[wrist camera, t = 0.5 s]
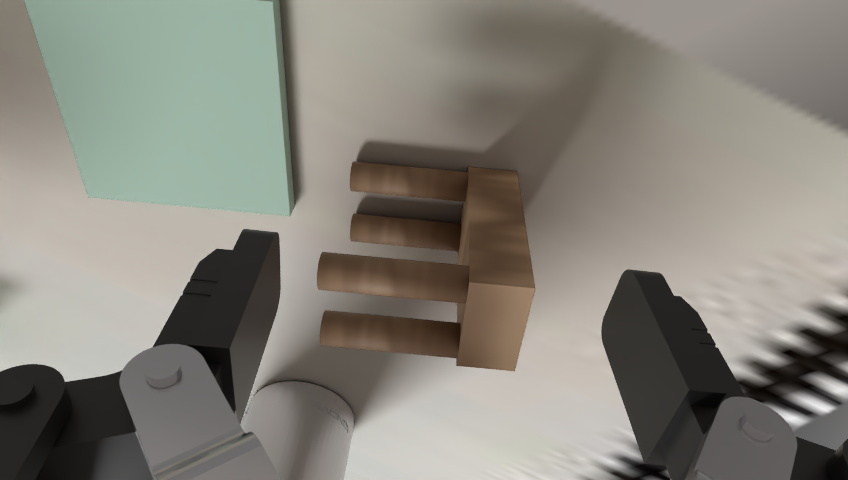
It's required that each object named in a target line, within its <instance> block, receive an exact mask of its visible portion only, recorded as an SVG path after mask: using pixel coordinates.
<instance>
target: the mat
mask: <svg viewBox="0 0 848 480" xmlns="http://www.w3.org/2000/svg"><path fill="white" fill-rule="evenodd" d="M24 1H25V5H26V8H27V11H28V14H29V17H30V20H31V23H32V26H33V29H34V32H35V35H36V38H37V41H38V45H39V48H40V51H41V54H42V57H43V60H44V63H45V66H46V69H47V72H48V75H49V78H50V81H51V85H52V88H53V91H54V94H55V97H56V100H57V103H58V106H59V109H60V112H61V115H62V118H63V121H64V124H65V128H66V131H67V134H68V137H69V140H70V143H71V146H72V149H73V152H74V155H75V158H76V161H77V164H78V168H79V171H80V174H81V177H82V180H83V183H84V186H85V189H86V192H87V195H88V197H89V198H100V199H110V200H121V201H132V202H142V203H153V204H164V205H174V206H185V207H196V208H207V209H217V210H228V211H239V212H249V213H260V214H271V215H281V216H290V215H291V213H292V211H293V209H294V207H295V205H294V191H293V178H292V164H291V151H290V137H289V124H288V110H287V97H286V83H285V70H284V56H283V43H282V29H281V16H280V2H279V0H24Z"/></svg>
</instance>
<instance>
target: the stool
mask: <svg viewBox="0 0 848 480" xmlns="http://www.w3.org/2000/svg"><path fill="white" fill-rule="evenodd" d="M350 190H351V191H357V192H367V193H378V194H389V195H399V196H410V197H421V198H432V199H442V200H453V201H464V203H463V211H462V218H461V224H460V223H449V222H438V221H428V220H417V219H406V218H396V217H385V216H374V215H364V214H353V216H352V221H351V229H350V239H351V241H355V242H366V243H376V244H387V245H398V246H408V247H419V248H430V249H440V250H451V251H458V265H455V264H444V263H434V262H423V261H413V260H402V259H391V258H381V257H370V256H359V255H349V254H338V253H327V252H322V254H321V256H320V259H319V264H318V272H317V286H318V289H319V290H328V291H339V292H349V293H360V294H370V295H381V296H392V297H402V298H413V299H423V300H434V301H445V302H455V303H457V323H454V322H444V321H433V320H423V319H412V318H402V317H391V316H380V315H370V314H359V313H349V312H338V311H327V310H325V312H324V314H323V318H322V322H321V330H320V344H321V345H323V346H333V347H344V348H354V349H365V350H375V351H386V352H396V353H407V354H417V355H428V356H438V357H449V358H457V361H456V366H465V367H476V368H486V369H497V370H508V371H515V368H516V364H517V360H518V356H519V352H520V348H521V344H522V340H523V336H524V332H525V328H526V324H527V320H528V316H529V312H530V308H531V304H532V300H533V296H534V292H535V284H534V277H533V271H532V264H531V258H530V251H529V245H528V238H527V232H526V225H525V219H524V212H523V206H522V200H521V193H520V187H519V180H518V174H517V171H508V170H497V169H487V168H476V167H468V172H462V171H451V170H440V169H429V168H419V167H408V166H397V165H386V164H376V163H365V162H354V161H353V163H352V167H351V174H350Z"/></svg>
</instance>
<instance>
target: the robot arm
mask: <svg viewBox="0 0 848 480" xmlns="http://www.w3.org/2000/svg"><path fill="white" fill-rule="evenodd" d="M279 298H280V245H279V234H278V233H277V232H268V231H259V230H249V229H244V230H243V231H242V232H241V234H240V236H239V238H238V240H237V242H236V245H235V247H234V249H233V250H225V249H216V250H214V251H213V252H212V253H211V254H209V255H208V256H207V257H205V258H204V259H203V260H201V261H200V262H199V264H198V265H197V267H196V269H195V271H194V273H193V275H192V276H191V278H190V282H188V284H187V286H186V287H185V289H184V291H183V295H182V296H180V298H179V300H178V302H177V304H176V306H175V307H174V309H173V311H172V313H171V315H170V317H169V318H168V320H167V322H166V324H165V326H164V328H163V329H162V331H161V333H160V335H159V337H158V339H157V340H156V342H155V344H154V346H153V347H152V348H150V349H147V350H145V351H143V352H141V353H139V354H138V355H136V356H135V357H134V358H132V359H131V360H130V361H129V362H128V363H127V365H126V366H125V367H124V369H123V370H122V371H120V372H117V373H114V374H110V375H106V376H101V377H95V378H88V379H82V380H76V381H70V382H65V381H64V378H63V376H62V375H61V374H60V372H58V371H57V370H56V369H54V368H52V367H49V366H45V365H38V364H28V365H21V366H16V367H12V368H9V369H6V370H3V371H1V372H0V480H343V479H344V474H345V469H346V464H347V459H348V454H349V448H350V443H351V438H352V432H353V427H354V416H353V413H352V410H351V409H350V407H349V406H348V404H347V403H346V402H345V401H344V400H343V399H342V398H341V397H339V396H338V395H336V394H335V393H333V392H332V391H330V390H328V389H325V388H323V387H321V386H318V385H314V384H310V383H305V382H298V381H286V382H279V383H274V384H271V385H268V386H266V387H264V388H263V389H261V390H259V391H258V392H257V393H256V394H255V395H254V397H253V399H252V401H251V404H250V406H249V409H248V412H247V414H246V415H245V416H244V417H243V415H244V411H245V408H246V405H247V402H248V399H249V396H250V393H251V390H252V387H253V384H254V381H255V377H256V374H257V371H258V368H259V365H260V362H261V359H262V356H263V353H264V350H265V347H266V344H267V340H268V337H269V334H270V331H271V328H272V325H273V322H274V319H275V316H276V313H277V309H278V304H279ZM602 342H603V345H604V348H605V351H606V354H607V357H608V360H609V362H610V365H611V368H612V371H613V374H614V377H615V380H616V383H617V385H618V388H619V391H620V394H621V397H622V400H623V403H624V406H625V409H626V411H627V414H628V417H629V420H630V423H631V426H632V429H633V432H634V435H635V437H636V440H637V443H638V446H639V449H640V452H641V455H642V458H643V460H644V463H645V464H655V465H666V467H667V470H668V472H669V475H670V477H671V479H670V480H848V439H847V440H846V441H845V442H844V443H843V444H842V445H841V446H840V447H839V448H838V450H837V451H835V450H833V449H830V448H827V447H824V446H821V445H818V444H815V443H813V442H809V441H807V440H804V439H801V438H798V437H796V436H795V434H794V432H793V430H792V428H791V427H790V426H789V424H788V423H787V422H786V421H785V420H784V419H783V418H782V417H781V416H780V415H779V414H778V413H777V412H775V411H774V410H772V409H771V408H769V407H768V406H766V405H764V404H762V403H760V402H758V401H756V400H753V399H749V398H746V396H745V395H744V393H743V391H742V389H741V388H740V386H739V384H738V382H737V381H736V379H735V377H734V375H733V374H732V372H731V370H730V368H729V367H728V365H727V363H726V361H725V360H724V358H723V356H722V354H721V353H720V351H719V349H718V348H716V347H715V342H714V340H713V339H712V337H711V335H710V333H707V328H706V326H705V325H704V323H703V321H702V319H701V318H700V316H699V314H698V312H696V311H695V310H694V309H693V308H692V307H691V306H690V305H689V304H688V303H687V302H686V301H685V300H684V299H683V298H682V297H680V296H674V295H673V293H672V291H671V290H670V288H669V286H668V284H667V282H666V280H665V278H664V277H663V275H662V274H660V273H656V272H647V271H638V270H626V271H624V273H623V274H622V276H621V278H620V280H619V282H618V285H617V287H616V290H615V292H614V294H613V297H612V299H611V301H610V304H609V306H608V308H607V311H606V313H605V315H604V318H603V322H602ZM242 418H243V419H242ZM241 421H242V422H241ZM240 424H241V425H240Z"/></svg>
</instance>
